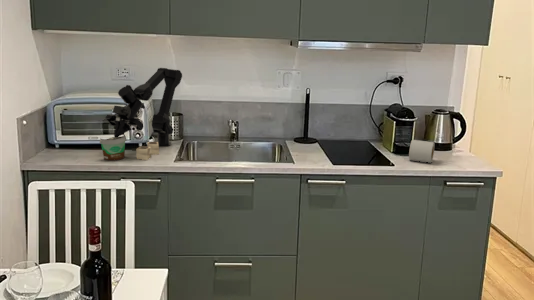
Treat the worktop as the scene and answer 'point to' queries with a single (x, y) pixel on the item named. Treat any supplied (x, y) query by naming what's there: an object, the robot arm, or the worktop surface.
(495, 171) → the worktop surface
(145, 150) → the number block
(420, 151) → the toilet paper
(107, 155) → the food container
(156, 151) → the number block
